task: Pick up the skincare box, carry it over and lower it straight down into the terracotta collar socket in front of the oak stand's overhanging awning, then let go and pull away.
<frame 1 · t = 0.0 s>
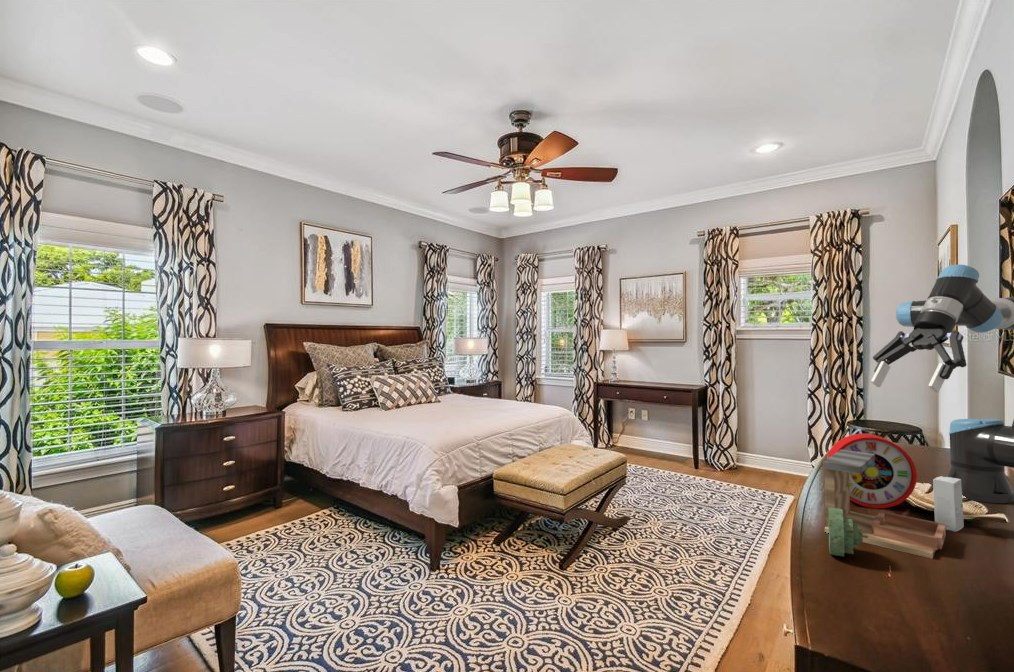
hand: (902, 386, 119), 36 cm above the table, tool tilted 35°, fingers open, 13 cm apart
awning stand: (908, 539, 113), on the table
decorative artifact: (848, 557, 105), on the table
toy clock: (870, 505, 137), on the table
skincare box: (948, 527, 120), on the table
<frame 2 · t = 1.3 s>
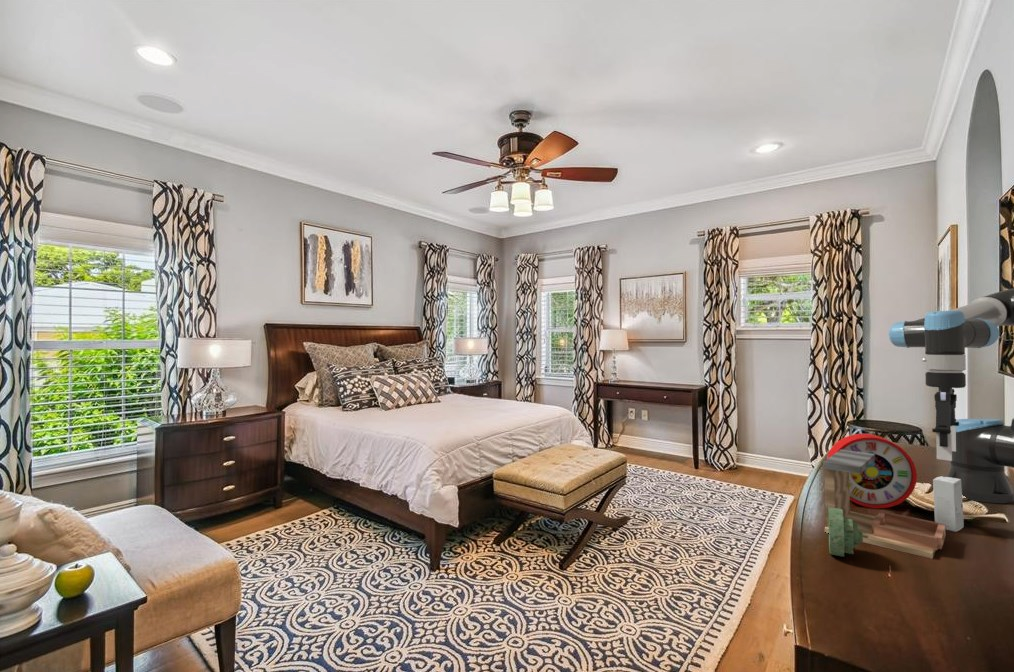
hand: (946, 455, 120), 18 cm above the table, tool pointing down, fingers open, 13 cm apart
nothing on the table moved.
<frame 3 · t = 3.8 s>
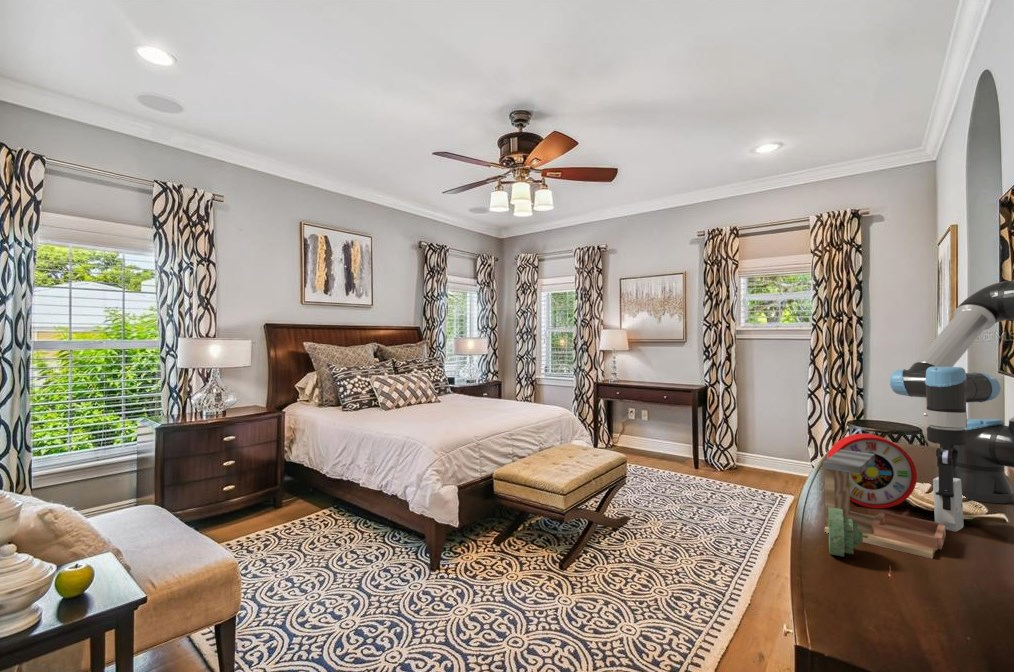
hand: (948, 518, 120), 2 cm above the table, tool pointing down, fingers closed on skincare box, 6 cm apart
skincare box: (948, 527, 120), on the table, touching gripper
everything else where it was.
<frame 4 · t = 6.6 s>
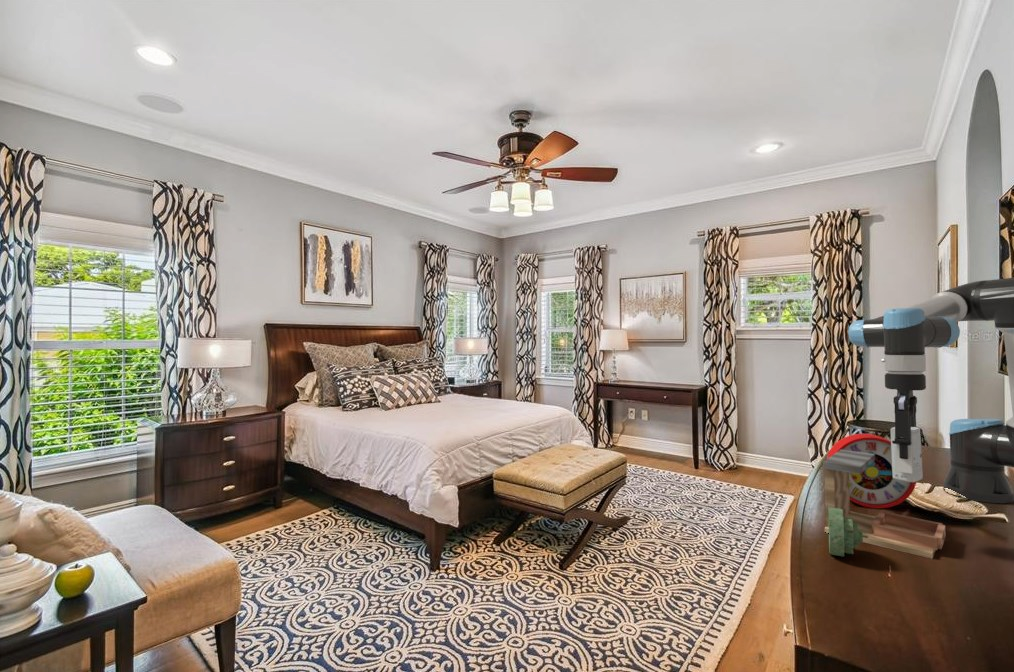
hand: (906, 469, 113), 17 cm above the table, tool pointing down, fingers closed on skincare box, 6 cm apart
skincare box: (907, 479, 113), point 14 cm above the table, touching gripper
everything else where it was.
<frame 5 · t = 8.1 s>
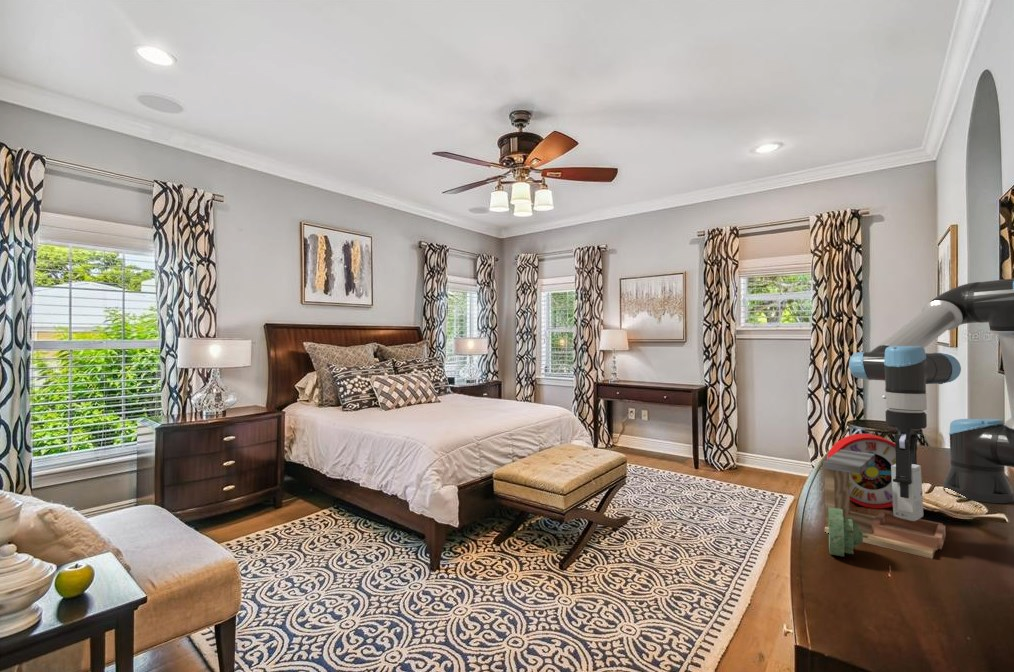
hand: (907, 506, 113), 8 cm above the table, tool pointing down, fingers closed on skincare box, 6 cm apart
skincare box: (907, 516, 113), point 5 cm above the table, touching gripper
everything else where it was.
when the fingers open (5 cm above the table, at t = 9.5 s): skincare box drops 1 cm, resting on awning stand.
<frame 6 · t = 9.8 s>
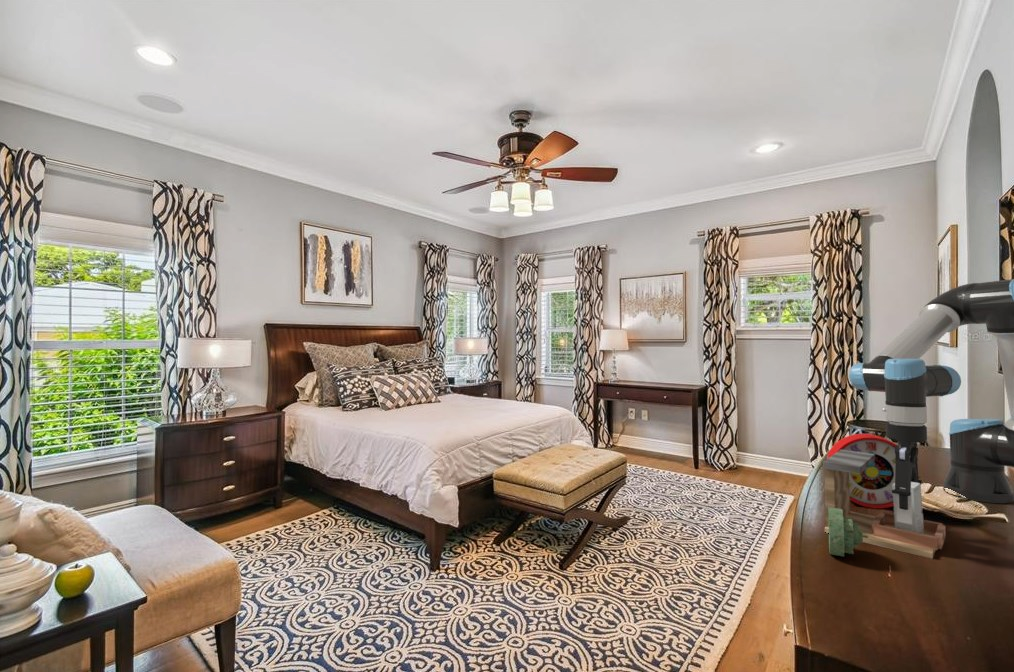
hand: (907, 516, 113), 6 cm above the table, tool pointing down, fingers open, 10 cm apart
skincare box: (909, 535, 113), point 1 cm above the table, touching awning stand
everything else where it was.
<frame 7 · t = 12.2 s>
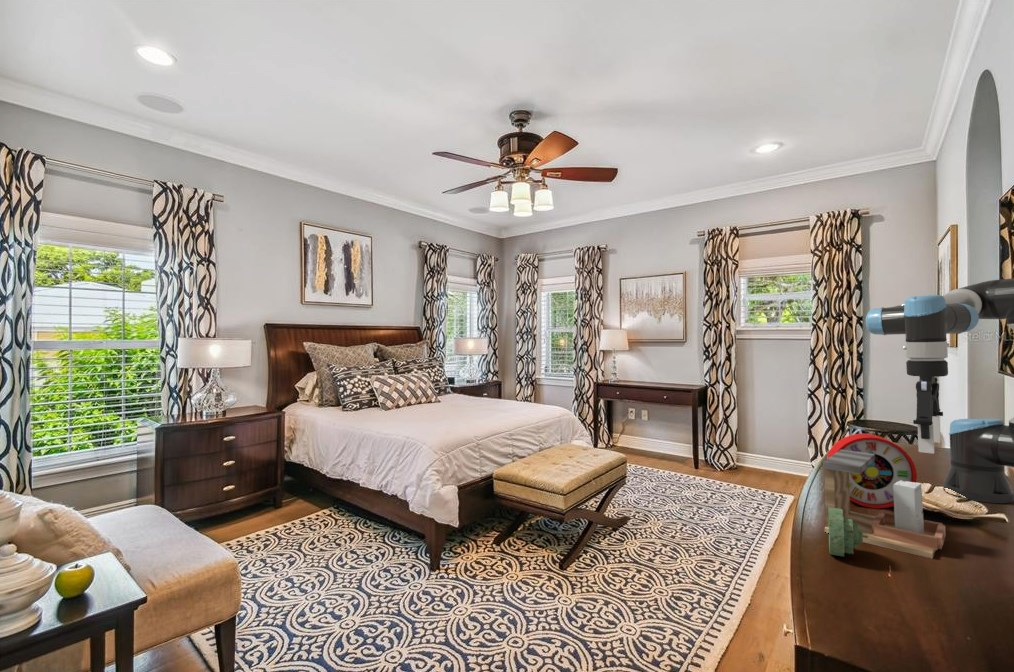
hand: (929, 447, 115), 22 cm above the table, tool pointing down, fingers open, 13 cm apart
nothing on the table moved.
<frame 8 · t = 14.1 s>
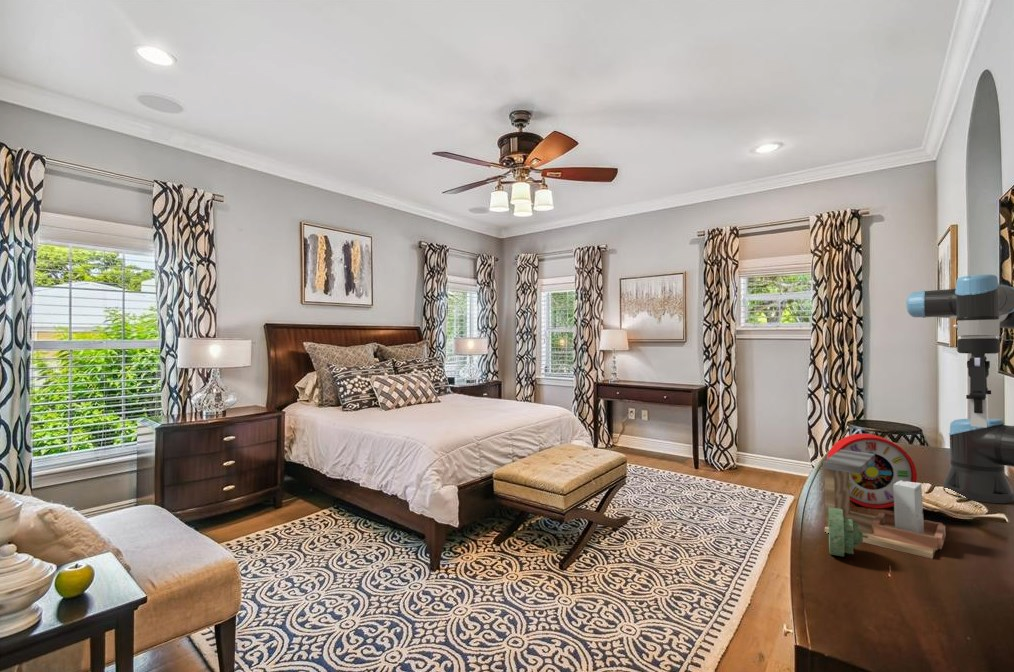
hand: (979, 423, 117), 27 cm above the table, tool pointing down, fingers open, 13 cm apart
nothing on the table moved.
at the end: skincare box inside the target area on the awning stand (0.2 cm from its centre), point 1.0 cm above the awning stand's base; skincare box tilted 0°; the gripper is holding nothing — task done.
